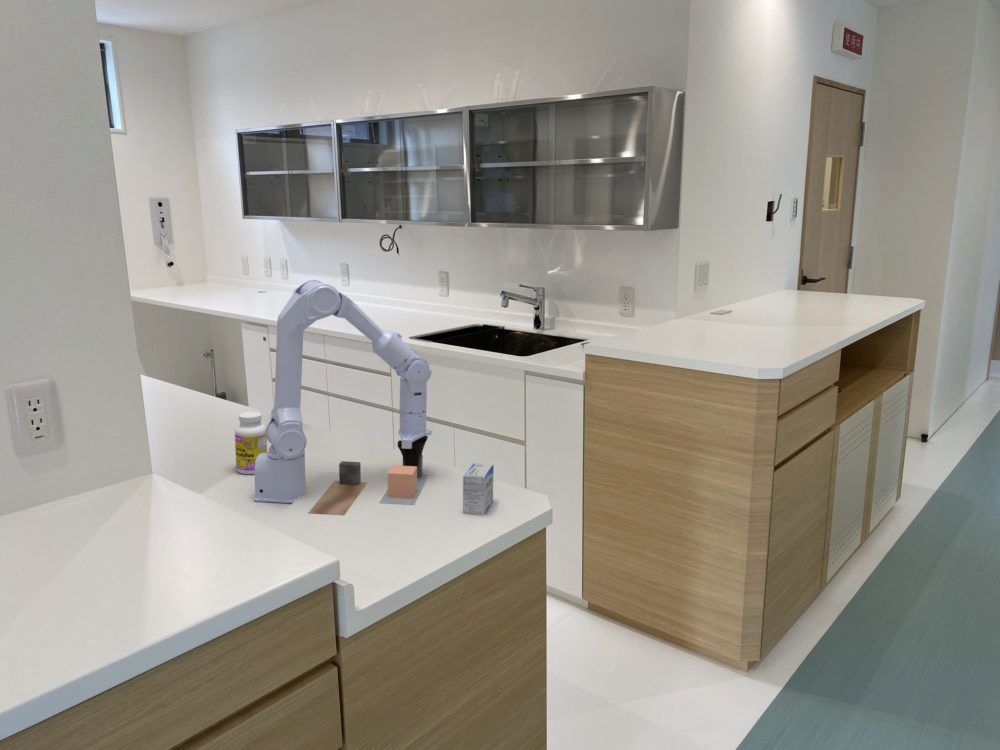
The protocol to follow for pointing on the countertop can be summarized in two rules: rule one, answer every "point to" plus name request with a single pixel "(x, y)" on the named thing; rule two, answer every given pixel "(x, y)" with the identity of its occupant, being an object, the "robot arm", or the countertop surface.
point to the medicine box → (478, 489)
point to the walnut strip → (341, 491)
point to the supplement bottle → (249, 441)
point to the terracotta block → (402, 481)
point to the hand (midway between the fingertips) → (412, 470)
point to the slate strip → (411, 501)
